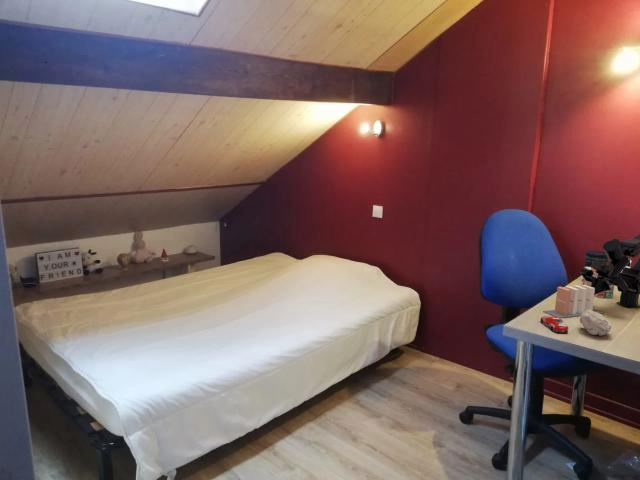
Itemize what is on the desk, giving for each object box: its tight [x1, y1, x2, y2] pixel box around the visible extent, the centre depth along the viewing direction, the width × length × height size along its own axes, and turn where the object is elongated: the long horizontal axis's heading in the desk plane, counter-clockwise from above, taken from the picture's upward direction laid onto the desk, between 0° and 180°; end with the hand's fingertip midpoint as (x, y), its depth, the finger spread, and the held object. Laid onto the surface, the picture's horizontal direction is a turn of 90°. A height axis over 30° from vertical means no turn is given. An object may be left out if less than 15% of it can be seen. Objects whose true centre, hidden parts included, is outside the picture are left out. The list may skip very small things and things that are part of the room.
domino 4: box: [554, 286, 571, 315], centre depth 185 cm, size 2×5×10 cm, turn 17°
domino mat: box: [543, 308, 604, 319], centre depth 188 cm, size 22×8×1 cm, turn 107°
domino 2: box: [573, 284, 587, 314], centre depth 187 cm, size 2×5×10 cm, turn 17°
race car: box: [540, 315, 569, 334], centre depth 172 cm, size 13×5×4 cm, turn 179°
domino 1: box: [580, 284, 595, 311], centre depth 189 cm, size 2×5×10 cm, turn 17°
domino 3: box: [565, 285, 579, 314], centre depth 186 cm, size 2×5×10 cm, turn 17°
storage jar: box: [581, 250, 609, 282], centre depth 233 cm, size 10×10×15 cm
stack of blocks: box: [582, 266, 615, 300], centre depth 217 cm, size 21×6×12 cm, turn 168°
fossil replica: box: [579, 309, 612, 336], centre depth 166 cm, size 12×8×10 cm
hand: (589, 295), depth 189 cm, fingers closed
